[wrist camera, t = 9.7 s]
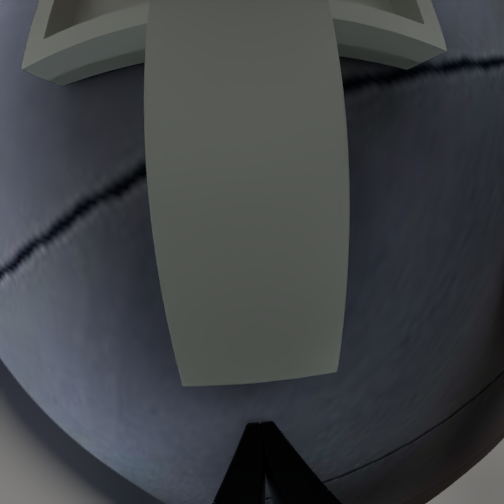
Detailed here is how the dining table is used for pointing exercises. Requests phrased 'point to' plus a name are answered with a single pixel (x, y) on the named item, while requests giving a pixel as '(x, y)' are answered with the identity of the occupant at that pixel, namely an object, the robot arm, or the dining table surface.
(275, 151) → the tray
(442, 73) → the dining table surface
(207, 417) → the dining table surface
